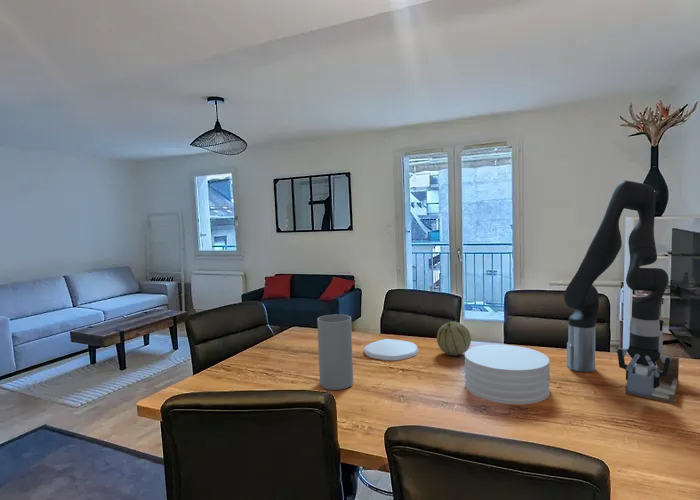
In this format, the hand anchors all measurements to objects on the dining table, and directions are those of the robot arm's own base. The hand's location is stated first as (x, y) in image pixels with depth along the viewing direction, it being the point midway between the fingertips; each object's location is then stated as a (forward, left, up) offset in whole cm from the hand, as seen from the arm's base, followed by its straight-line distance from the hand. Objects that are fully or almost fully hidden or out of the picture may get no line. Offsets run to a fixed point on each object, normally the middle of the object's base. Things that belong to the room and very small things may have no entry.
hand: (642, 384), depth 133 cm
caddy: (0, 0, -1) cm, 1 cm away
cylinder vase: (-100, -2, -7) cm, 100 cm away
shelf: (+8, +15, -7) cm, 19 cm away
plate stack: (-40, +7, -7) cm, 41 cm away
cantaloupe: (-59, +41, -7) cm, 72 cm away
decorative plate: (-87, +41, -7) cm, 96 cm away
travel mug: (+14, +32, -7) cm, 36 cm away
